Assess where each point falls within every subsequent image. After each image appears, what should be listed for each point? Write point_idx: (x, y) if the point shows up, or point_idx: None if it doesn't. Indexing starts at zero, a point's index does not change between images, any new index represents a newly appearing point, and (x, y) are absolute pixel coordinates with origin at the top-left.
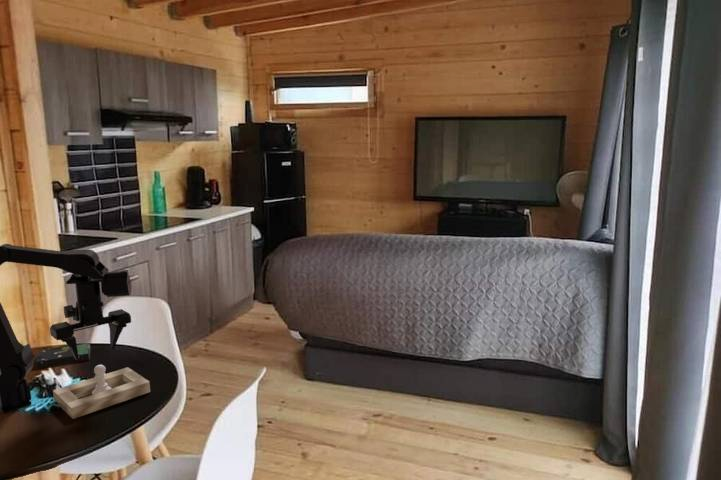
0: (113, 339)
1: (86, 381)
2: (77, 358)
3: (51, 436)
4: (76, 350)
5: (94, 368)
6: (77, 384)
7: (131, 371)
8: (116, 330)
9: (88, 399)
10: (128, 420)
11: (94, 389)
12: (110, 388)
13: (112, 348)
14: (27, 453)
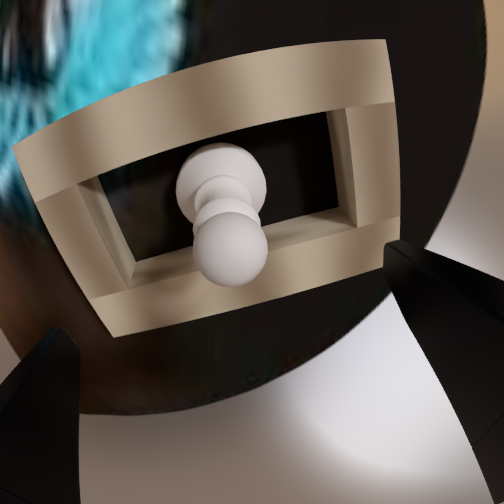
0: (444, 380)
1: (153, 100)
2: (76, 363)
3: (88, 359)
4: (73, 455)
5: (197, 260)
6: (107, 122)
7: (387, 106)
8: (487, 478)
9: (164, 306)
10: (267, 366)
11: (188, 186)
12: (259, 200)
13: (391, 287)
14: None
